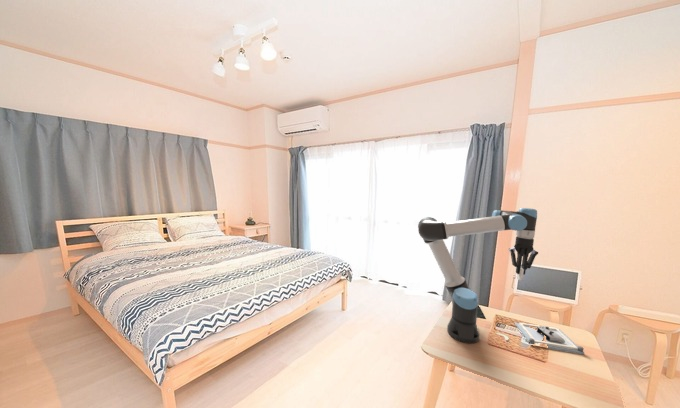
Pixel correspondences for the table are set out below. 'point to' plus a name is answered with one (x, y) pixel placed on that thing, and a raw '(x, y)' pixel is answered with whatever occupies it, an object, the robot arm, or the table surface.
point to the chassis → (535, 336)
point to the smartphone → (480, 313)
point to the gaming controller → (550, 334)
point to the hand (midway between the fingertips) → (519, 279)
